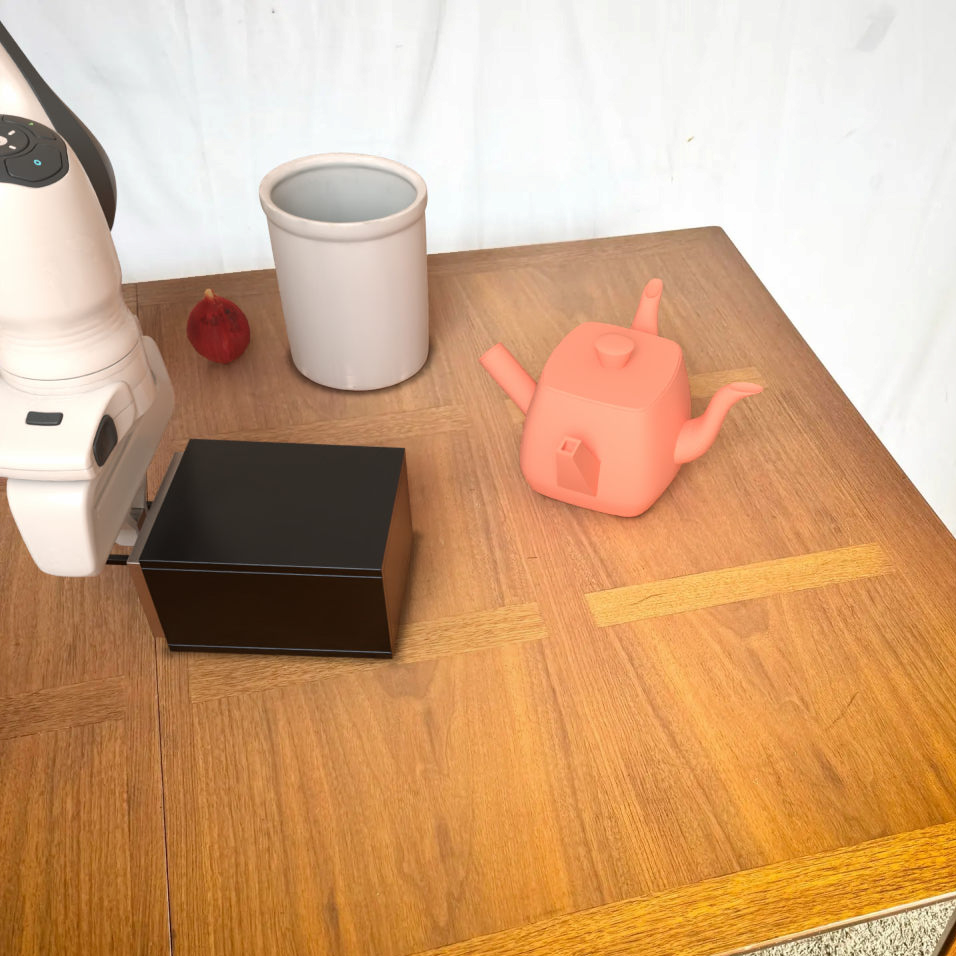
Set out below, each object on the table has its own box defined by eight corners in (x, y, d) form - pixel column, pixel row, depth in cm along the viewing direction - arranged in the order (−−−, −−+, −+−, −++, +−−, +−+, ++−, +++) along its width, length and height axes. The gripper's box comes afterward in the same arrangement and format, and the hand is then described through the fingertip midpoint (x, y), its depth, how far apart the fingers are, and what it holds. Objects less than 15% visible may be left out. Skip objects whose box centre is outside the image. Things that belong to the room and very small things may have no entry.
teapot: (646, 395, 107) (659, 268, 97) (741, 508, 95) (768, 377, 85) (475, 436, 100) (471, 305, 90) (556, 562, 89) (561, 428, 79)
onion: (268, 360, 107) (255, 288, 101) (224, 386, 103) (207, 313, 98) (228, 340, 109) (212, 268, 103) (183, 365, 105) (164, 292, 100)
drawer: (86, 635, 80) (53, 560, 74) (135, 523, 88) (109, 448, 83) (361, 644, 81) (350, 571, 75) (384, 533, 89) (375, 459, 84)
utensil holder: (346, 299, 116) (325, 136, 103) (463, 339, 111) (457, 175, 99) (256, 365, 106) (222, 195, 93) (381, 412, 102) (363, 241, 89)
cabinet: (170, 651, 80) (137, 560, 73) (214, 529, 90) (189, 437, 83) (392, 659, 81) (381, 569, 74) (413, 537, 90) (405, 447, 83)
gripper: (83, 294, 78) (132, 445, 88) (-30, 474, 64) (44, 630, 74) (171, 298, 78) (210, 449, 88) (78, 478, 64) (138, 633, 74)
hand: (134, 533), depth 81 cm, fingers closed
